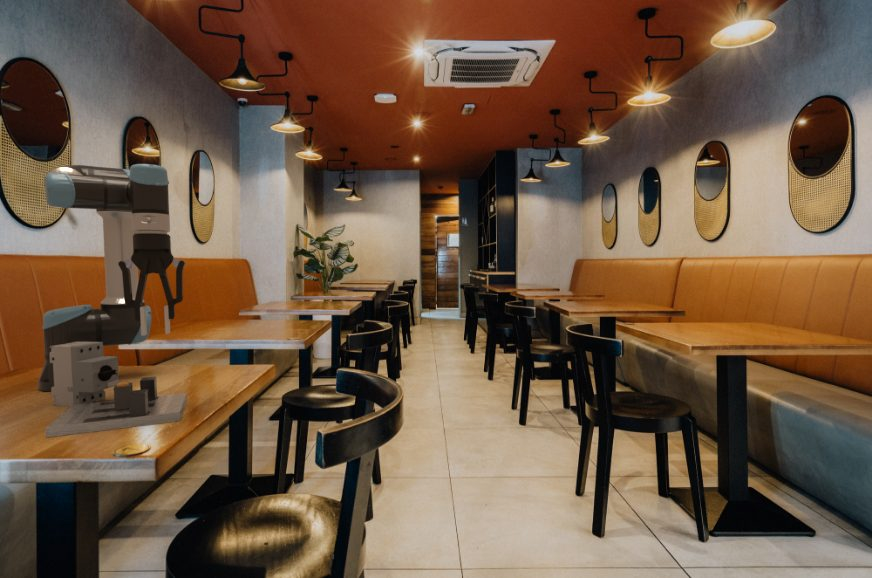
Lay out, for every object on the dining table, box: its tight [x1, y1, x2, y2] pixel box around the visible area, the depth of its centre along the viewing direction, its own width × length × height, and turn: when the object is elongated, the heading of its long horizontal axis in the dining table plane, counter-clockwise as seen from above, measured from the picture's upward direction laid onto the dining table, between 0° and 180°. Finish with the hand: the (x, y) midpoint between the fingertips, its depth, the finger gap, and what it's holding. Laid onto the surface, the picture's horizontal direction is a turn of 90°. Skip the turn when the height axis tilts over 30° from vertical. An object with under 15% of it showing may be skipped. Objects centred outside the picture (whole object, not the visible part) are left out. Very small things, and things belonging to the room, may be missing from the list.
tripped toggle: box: [113, 381, 134, 410], centre depth 110 cm, size 4×3×5 cm
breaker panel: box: [45, 376, 188, 438], centre depth 110 cm, size 18×24×7 cm
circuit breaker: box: [50, 342, 120, 407], centre depth 123 cm, size 8×14×15 cm, turn 78°
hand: (156, 333), depth 112 cm, fingers open, 4 cm apart
